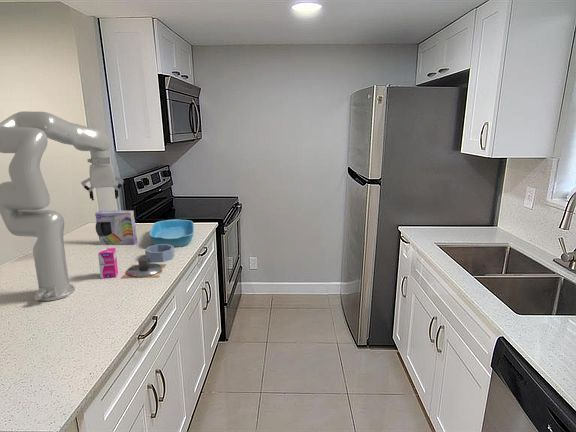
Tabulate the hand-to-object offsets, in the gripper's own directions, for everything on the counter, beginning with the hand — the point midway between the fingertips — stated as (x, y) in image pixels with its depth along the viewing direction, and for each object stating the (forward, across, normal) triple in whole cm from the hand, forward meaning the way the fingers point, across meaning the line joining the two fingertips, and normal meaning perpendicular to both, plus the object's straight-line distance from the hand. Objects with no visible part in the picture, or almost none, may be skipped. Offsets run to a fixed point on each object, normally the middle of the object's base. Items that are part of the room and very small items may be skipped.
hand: (104, 199), depth 167 cm
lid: (+27, +12, -26) cm, 40 cm away
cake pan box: (+28, +4, +20) cm, 35 cm away
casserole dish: (+28, +32, +15) cm, 45 cm away
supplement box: (+28, -2, -25) cm, 38 cm away
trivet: (+28, +12, -26) cm, 40 cm away
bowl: (+28, +21, -12) cm, 37 cm away
